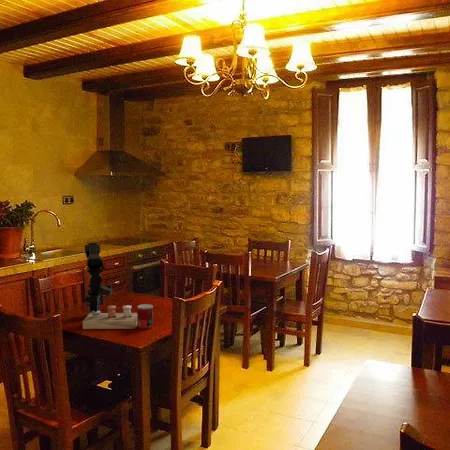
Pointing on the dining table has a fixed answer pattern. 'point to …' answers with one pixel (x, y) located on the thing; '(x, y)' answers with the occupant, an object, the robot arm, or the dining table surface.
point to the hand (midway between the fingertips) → (95, 311)
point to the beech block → (110, 321)
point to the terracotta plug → (111, 311)
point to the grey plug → (96, 314)
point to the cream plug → (127, 311)
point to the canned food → (145, 316)
